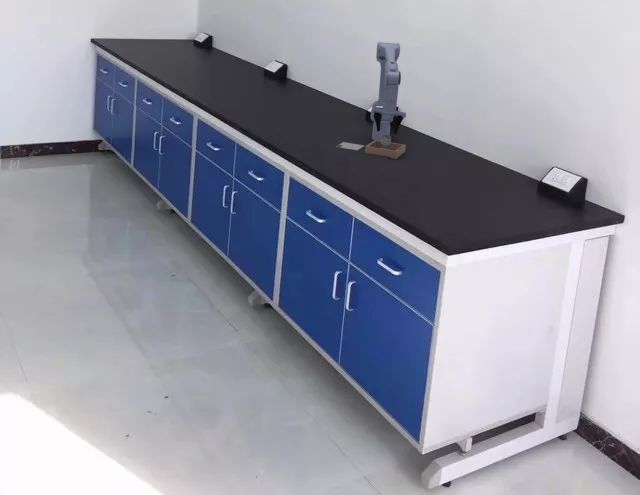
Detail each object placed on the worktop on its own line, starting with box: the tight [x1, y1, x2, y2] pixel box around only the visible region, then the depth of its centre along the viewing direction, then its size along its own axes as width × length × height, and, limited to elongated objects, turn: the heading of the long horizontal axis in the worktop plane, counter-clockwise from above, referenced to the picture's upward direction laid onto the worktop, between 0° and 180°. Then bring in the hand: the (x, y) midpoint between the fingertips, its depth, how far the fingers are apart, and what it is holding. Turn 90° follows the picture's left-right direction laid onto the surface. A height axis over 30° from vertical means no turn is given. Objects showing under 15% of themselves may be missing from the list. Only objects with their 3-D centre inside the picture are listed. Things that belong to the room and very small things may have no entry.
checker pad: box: [335, 141, 365, 151], centre depth 345 cm, size 10×10×1 cm
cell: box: [381, 135, 392, 150], centre depth 339 cm, size 4×4×8 cm
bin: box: [364, 140, 407, 160], centre depth 340 cm, size 14×14×4 cm
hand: (387, 132), depth 337 cm, fingers open, 7 cm apart
